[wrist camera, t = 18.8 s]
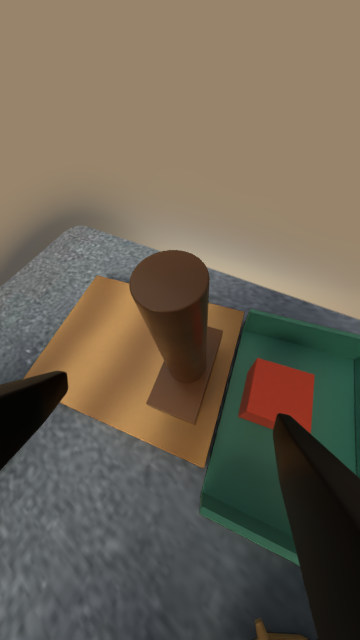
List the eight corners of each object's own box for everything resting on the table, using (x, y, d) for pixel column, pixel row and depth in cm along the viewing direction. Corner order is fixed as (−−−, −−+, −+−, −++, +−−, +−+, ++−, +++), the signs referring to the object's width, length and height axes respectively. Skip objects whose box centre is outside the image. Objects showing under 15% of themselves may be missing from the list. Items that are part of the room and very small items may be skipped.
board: (30, 387, 21) (19, 383, 20) (101, 283, 27) (96, 275, 26) (203, 466, 16) (203, 468, 15) (242, 318, 22) (244, 311, 21)
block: (237, 416, 17) (246, 411, 14) (247, 372, 19) (257, 357, 16) (288, 435, 16) (311, 434, 13) (293, 386, 18) (315, 374, 15)
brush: (195, 426, 16) (180, 400, 5) (155, 409, 17) (65, 356, 6) (220, 346, 19) (243, 220, 8) (184, 335, 20) (161, 209, 9)
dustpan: (200, 497, 15) (199, 514, 12) (242, 328, 22) (250, 308, 18) (515, 654, 11) (654, 750, 8) (451, 384, 17) (511, 370, 14)
